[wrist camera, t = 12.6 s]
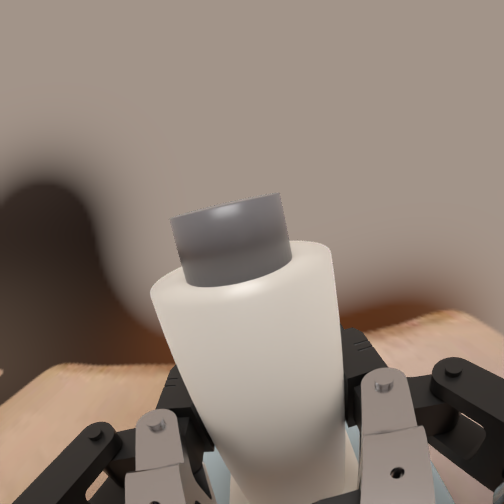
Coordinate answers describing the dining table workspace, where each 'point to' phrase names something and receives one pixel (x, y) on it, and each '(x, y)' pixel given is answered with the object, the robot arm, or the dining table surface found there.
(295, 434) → the white tall cylinder
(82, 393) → the dining table surface
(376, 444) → the robot arm
